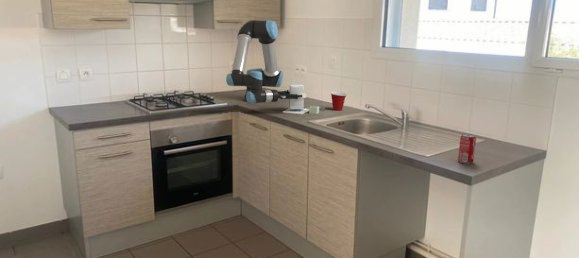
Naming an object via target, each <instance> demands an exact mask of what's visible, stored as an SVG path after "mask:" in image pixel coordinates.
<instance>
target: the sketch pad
mask: <svg viewBox="0 0 579 258" xmlns="http://www.w3.org/2000/svg"><path fill="white" fill-rule="evenodd" d="M308 111H309V108H304V109H290V107H289V108H287V109H285V110H284V111H283V110H282V113H283V114H295V115H304V113H307V112H308Z"/></svg>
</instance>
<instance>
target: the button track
mask: <svg viewBox="0 0 579 258" xmlns="http://www.w3.org/2000/svg"><path fill="white" fill-rule="evenodd" d="M325 110H326V107H321V106H319V112H320V111H322V112H323V111H325Z"/></svg>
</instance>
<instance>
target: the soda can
mask: <svg viewBox="0 0 579 258" xmlns="http://www.w3.org/2000/svg"><path fill="white" fill-rule="evenodd" d="M476 142H477V138H476V135H475V134H472V133H462V134H461V136H460V138H459V148H458V156H457V160H458V161H459V163H461V164H467V165H468V164H472V163H473V162H474V160H475V152H476Z"/></svg>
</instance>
